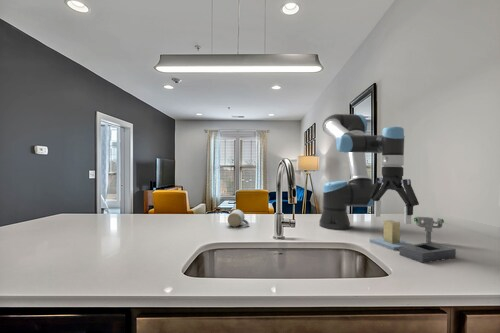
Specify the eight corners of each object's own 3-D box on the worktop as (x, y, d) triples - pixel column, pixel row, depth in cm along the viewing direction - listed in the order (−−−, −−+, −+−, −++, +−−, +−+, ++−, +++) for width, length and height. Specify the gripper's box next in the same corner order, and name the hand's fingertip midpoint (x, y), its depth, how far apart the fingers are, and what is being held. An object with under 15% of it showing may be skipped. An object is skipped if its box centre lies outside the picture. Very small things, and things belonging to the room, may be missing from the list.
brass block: (383, 240, 100) (383, 220, 100) (390, 240, 101) (391, 220, 101) (392, 243, 96) (392, 222, 96) (399, 242, 98) (400, 222, 98)
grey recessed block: (399, 254, 87) (399, 246, 87) (431, 250, 92) (431, 242, 92) (422, 263, 79) (422, 253, 79) (455, 257, 85) (455, 248, 85)
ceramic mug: (226, 227, 123) (227, 211, 123) (230, 223, 132) (230, 208, 132) (247, 228, 122) (248, 212, 122) (250, 224, 130) (250, 210, 130)
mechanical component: (444, 244, 100) (444, 219, 101) (416, 242, 103) (416, 217, 103) (440, 242, 103) (440, 217, 104) (413, 240, 105) (413, 216, 106)
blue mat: (369, 241, 102) (369, 239, 102) (389, 239, 106) (389, 237, 106) (393, 250, 92) (393, 247, 92) (414, 247, 95) (414, 244, 95)
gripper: (361, 165, 110) (360, 214, 110) (416, 166, 86) (414, 227, 86) (374, 166, 112) (373, 213, 112) (431, 166, 89) (430, 226, 89)
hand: (391, 219), depth 99 cm, fingers open, 13 cm apart
